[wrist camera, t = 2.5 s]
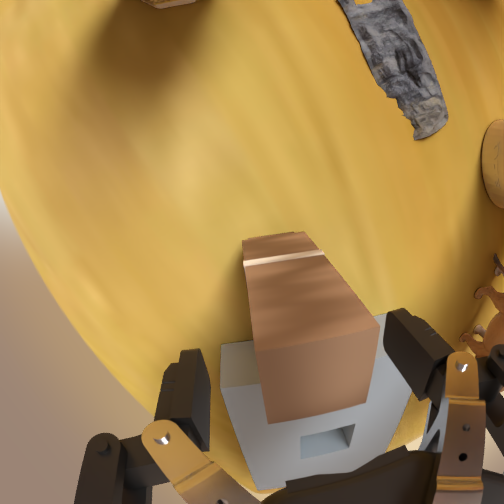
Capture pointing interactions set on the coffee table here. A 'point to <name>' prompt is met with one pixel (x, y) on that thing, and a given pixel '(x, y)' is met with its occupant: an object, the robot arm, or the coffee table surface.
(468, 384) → the robot arm
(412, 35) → the driftwood
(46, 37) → the coffee table surface
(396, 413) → the grey rectangular block
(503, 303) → the lion figurine
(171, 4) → the ceramic cup
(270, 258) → the walnut peg
